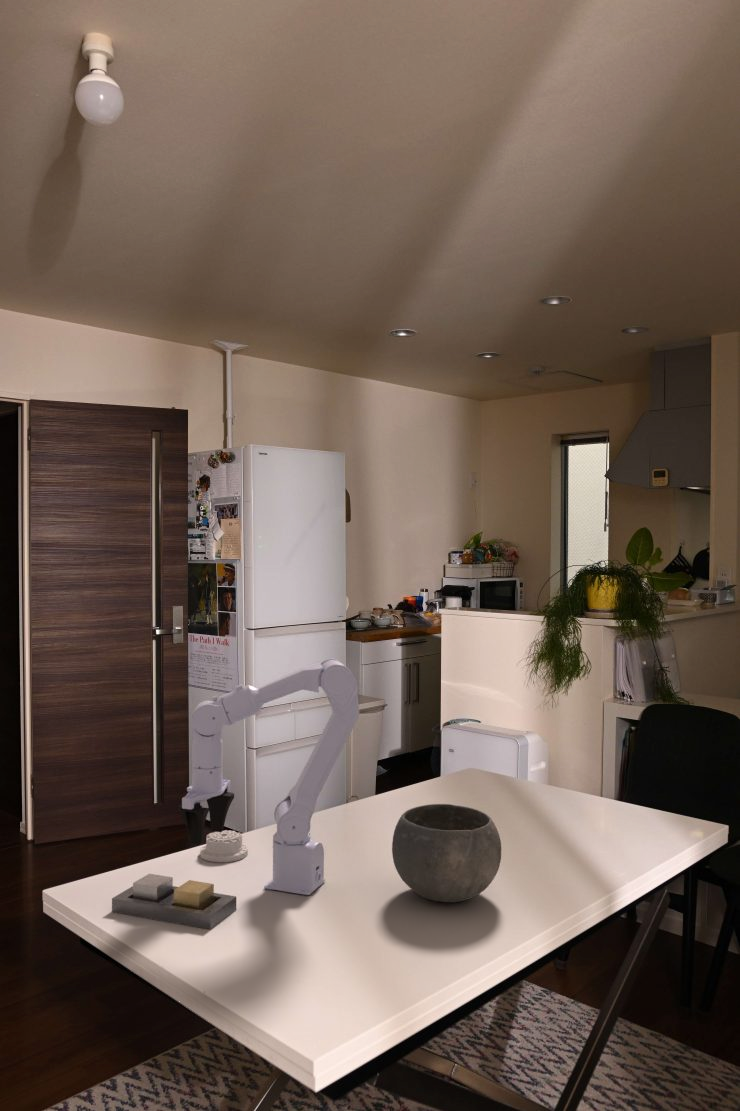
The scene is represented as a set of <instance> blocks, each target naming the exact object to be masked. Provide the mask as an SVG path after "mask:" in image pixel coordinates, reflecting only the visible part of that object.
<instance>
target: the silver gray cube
mask: <svg viewBox="0 0 740 1111" xmlns="http://www.w3.org/2000/svg"><path fill="white" fill-rule="evenodd" d="M173 879H174V878H173V876H172V877H171V876H166V875H160V874H154V873H147V874H146V875H144V876H143V877H140V878H139V879H138V880H135V881H133V884H132V886H133V899H138V900H143V901H149V902H155V903H159V902H161V901H162V900H164V899H165V898H167V897H168V896H170V895H171V894H173V886H174V884H173V883H174V880H173Z"/></svg>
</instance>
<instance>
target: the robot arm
mask: <svg viewBox="0 0 740 1111" xmlns="http://www.w3.org/2000/svg"><path fill="white" fill-rule="evenodd" d="M320 687H321V690H323V692H324V693H325V695H326V696H327V699H328V703H329V705H330V708H331V711H332V713H331V715H330V717H329V719H328V721H327V723H326V725H325V726H324V729H323V730H322V732H321V734H320V736H319V738H318V740H317V742H316V743H315V745H314V748H313V750H312V752H311V754H310V755H309V758H308V759H307V762H306V763H305V766H304V768H303V769H302V771H301V773H300V775H299V777H298V778H297V781H296V783H295V784H294V785H293V787H292V788H291V789H290V790H289V791H288V792H287V795H286V797H285V798H283V799H282V800H280V801H279V802H278V804H277V805H276V806H275V809H274V812H273V813H274V816H273V817H274V820H275V823H276V832H275V833H274V834H273V835H272V879H271V880H270V881H268V882H267V883H266V884H264V886H263V888H264V889H267V890H273V891H274V890H275V891H279V892H285V893H294V894H299V895H305V896H309V895H311V894H312V893H313V892H314V891H315V890H317V889H318V888H319V887H320V886H321V885H322V884H324V883H325V882H326V879H325V878H324V876H325V875H324V874H325V872H324V870H325V867H324V866H325V865H324V864H325V863H324V862H325V850H324V846H323V843H322V842H320V841H315V840H314V839H313V838H311V837H312V836H311V833H310V831H311V819H312V817H313V815H314V814H315V811H316V806H317V801H318V797H319V796H320V794H321V792H322V790H323V788H324V786H325V784H326V782H327V781H328V778H329V776H330V775H331V772H332V771H333V768H334V767H335V765H336V762H337V761H338V759H339V756H340V755H341V753H342V750H343V749H344V747H345V744H346V743H347V741H348V739H349V737H350V735H351V733H352V732H353V729H354V727H355V725H356V723H357V721H358V719H359V717H360V705H359V696H358V695H359V694H358V687H359V686H358V683H357V680H356V678H355V677H354V674H353V672H352V671H351V670H350V668H348V667H347V665H345V664H344V662H343V661H341V660H340V659H336V658H328V659H325V660H323V661H321V663H320V662H316V663H312V664H309V665H306V666H305V667H301V668H299V669H297V670H294V671H293V672H290V673H288V674H286V675H284V676H282V677H280V678H277V679H274V680H273V681H270V682H268V683H266V684H264V685H262V686H259V687H255V686H252V685H250V684H247V685H245V686H244V685H243V684H238V685H236V687H235V690H232V691H231V692H230V691H229V692H228V693H225V694H223V695H220V696H218V695H213V696H212V698H211V700H203V701H201V702H199V703H198V704H196V707H194V710H193V712H192V716H191V718H192V720H191V723H192V727H193V732H192V738H193V740H192V744H191V746H192V749H191V752H192V754H191V755H192V757H191V761H192V762H191V768H192V769H191V785H190V786H188V787H186V791H187V793H186V795H185V796H183V797H182V798H181V804H180V805H178V812H179V814H180V815H181V817H182V819H183V821H184V823H185V826H186V830H187V833H188V838H189V842H190V844H195V845H201V844H202V843H203V839H204V835H205V834H204V833H205V832H204V831H205V824H206V819H207V816H208V814H209V823H210V829H211V832H222V831H224V827H225V823H226V819H227V815H228V811H229V808H230V807H231V805H232V802H233V800H234V799H235V793H234V792H229V791H230V790H231V785H232V784H231V780H230V779H223V776H224V774H223V771H224V770H223V768H224V767H223V764H224V763H223V762H224V760H223V759H224V758H223V757H224V756H223V755H224V754H223V753H224V742H223V739H222V729H223V727H224V726H230V725H234V724H235V723H238V722H240V721H243V720H245V719H248V718H250V717H252V716H256V715H258V714H260V712H261V710H262V708H263V706H264V705H265V704H267V703H269V702H273V701H275V700H278V699H281V698H283V697H286V696H288V695H291V694H294V693H297V692H300V691H302V690H304V691H309V692H314V693H317V694H318V693H319V692H320V689H319V688H320ZM205 801H206V804H207V807H203V805H201V803H203V802H205Z"/></svg>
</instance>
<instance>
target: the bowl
mask: <svg viewBox="0 0 740 1111" xmlns="http://www.w3.org/2000/svg"><path fill="white" fill-rule="evenodd" d="M391 842H392V844H391V851H392V852H391V853H392V854H391V855H392V859H393V860H392V861H393V864H394V867H395V870H396V872H397V874H398V875H399V877H400V879H401V881H403V882H404V884H406V886H408V888H410V889H411V891H413V892H414V893H416V894H418V895H419V896H421V897H423V898H425V899H427V900H429V901H433V902H440V903H457V902H462V901H466V900H469V899H471V898H474V897H476V896H478V895H479V894H481V893H482V892H484V891H485V890H486V889H487V888H489V886H490V885H491V884H492V882H493V880H494V879H495V877H496V875H497V874H498V871H499V868H500V865H501V860H502V840H501V837H500V833H499V831H498V829H497V826H496V825H495V822H494V821H493V819H492V818H491V817H490V816H489V815H488V814H486V813H485V812H483V811H481V810H479V809H476V808H472V807H469V806H463V805H457V804H451V803H450V804H449V803H432V804H431V803H430V804H423V805H419V806H416V807H412V808H409V809H407V810H406V811H404V813H402V815H401V816H400V817H399V819H398V821H397V823H396V825H395V828H394V831H393V835H392V841H391Z"/></svg>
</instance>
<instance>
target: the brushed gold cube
mask: <svg viewBox="0 0 740 1111" xmlns="http://www.w3.org/2000/svg"><path fill="white" fill-rule="evenodd" d="M177 887H178V888H176V889H175V890H174V906H178V907H184V908H190V909H195V910H201V911H203V910H205V909H206V908H208V907H209V906H210V905H212V904H213V903H214V893H215V891H214V890H215V884H214V883H211V882H210V883H209V882H204V881H198V880H192V879H190V880H187V881H186V882H184V883H183V884H181V885H179V886H177Z"/></svg>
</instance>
